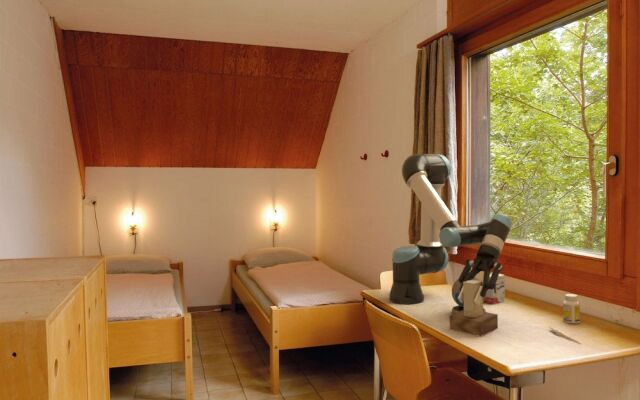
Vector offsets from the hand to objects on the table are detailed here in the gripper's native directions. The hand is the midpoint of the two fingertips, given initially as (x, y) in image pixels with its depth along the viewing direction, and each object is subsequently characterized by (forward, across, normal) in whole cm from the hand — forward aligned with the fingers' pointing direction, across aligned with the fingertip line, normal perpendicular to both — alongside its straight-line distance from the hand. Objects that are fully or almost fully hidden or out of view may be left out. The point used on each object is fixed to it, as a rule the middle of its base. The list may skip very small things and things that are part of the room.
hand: (468, 301), depth 168 cm
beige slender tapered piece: (-3, -26, -19) cm, 33 cm away
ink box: (-23, +12, -38) cm, 46 cm away
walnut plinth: (+5, 0, -10) cm, 11 cm away
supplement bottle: (-17, -22, -32) cm, 42 cm away
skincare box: (+2, 0, -6) cm, 6 cm away
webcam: (-6, +11, -21) cm, 25 cm away
